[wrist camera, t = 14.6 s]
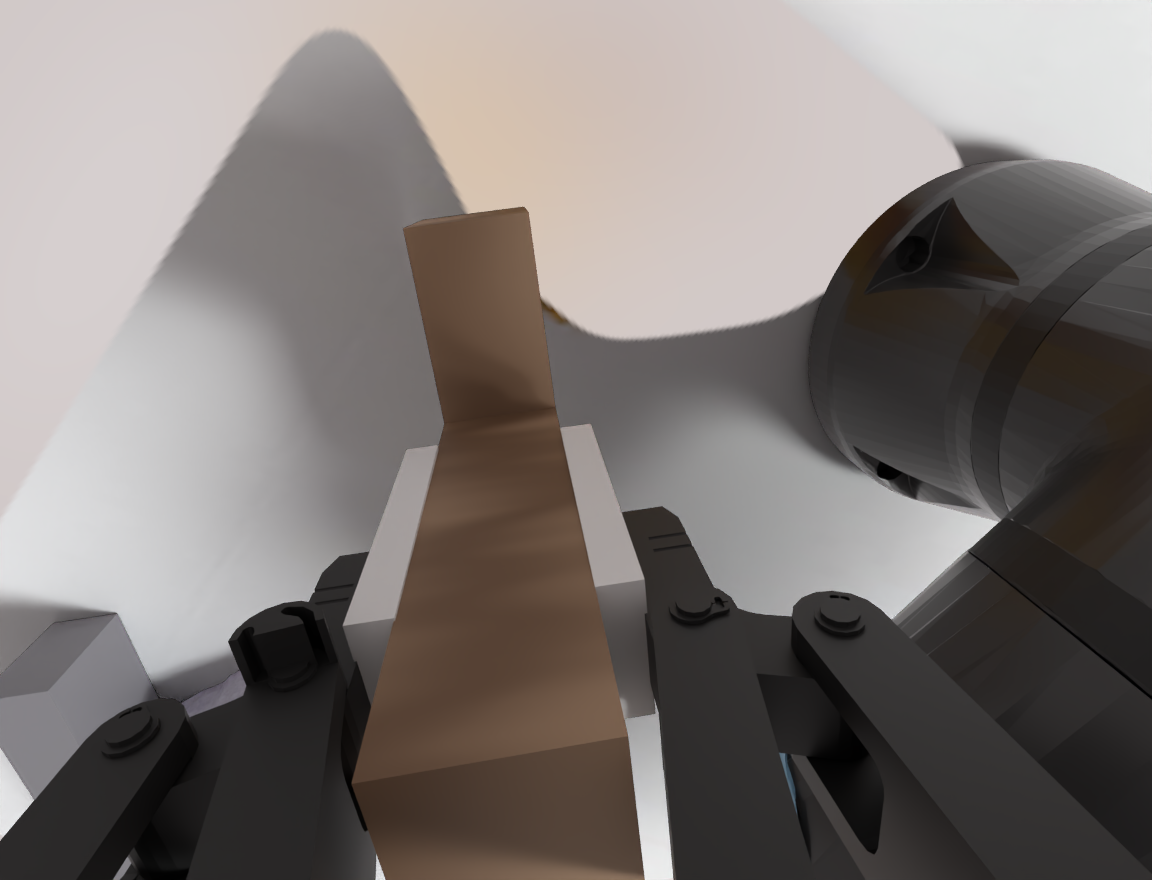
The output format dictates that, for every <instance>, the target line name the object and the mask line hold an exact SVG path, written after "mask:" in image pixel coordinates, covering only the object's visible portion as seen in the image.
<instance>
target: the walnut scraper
mask: <svg viewBox="0 0 1152 880" xmlns="http://www.w3.org/2000/svg"><path fill="white" fill-rule="evenodd" d="M403 231H404V235H405V240H406V245H407V250H408V254H409V259H410V264H411V268H412V273H413V278H414V282H415V287H416V292H417V297H418V301H419V306H420V311H421V315H422V320H423V325H424V330H425V334H426V339H427V344H428V348H429V353H430V358H431V362H432V367H433V372H434V377H435V381H436V386H437V391H438V395H439V400H440V405H441V410H442V414H443V419H444V427H443V431H442V435H441V439H440V443H439V447H438V448H439V450H438V454H437V458H436V462H435V466H434V470H433V474H432V478H431V482H430V485H429V489H428V493H427V497H426V501H425V505H424V509H423V513H422V517H421V521H420V525H419V529H418V533H417V537H416V541H415V545H414V548H413V552H412V556H411V560H410V564H409V568H408V572H407V576H406V580H405V584H404V588H403V592H402V596H401V600H400V604H399V608H398V612H397V615H396V619H395V621H393V625H392V629H391V633H390V636H389V640H388V644H387V648H386V652H385V656H384V660H383V664H382V667H381V671H380V675H379V679H378V683H377V687H376V691H375V695H374V698H373V702H372V706H371V710H370V714H369V718H368V722H367V726H366V729H365V733H364V737H363V741H362V745H361V749H360V753H359V757H358V760H357V764H356V768H355V772H354V776H353V780H352V787H353V790H354V792H355V795H356V798H357V801H358V804H359V806H360V809H361V812H362V815H363V818H364V820H365V823H366V826H367V829H368V831H369V834H370V837H371V840H372V843H373V845H374V848H375V851H376V854H377V857H378V859H379V862H380V865H381V868H382V870H383V873H384V876H385V879H386V880H645V879H644V870H643V861H642V853H641V844H640V835H639V827H638V818H637V809H636V801H635V792H634V783H633V775H632V766H631V757H630V749H629V740H628V734H627V729H626V725H625V720H624V716H623V711H622V707H621V702H620V697H619V693H618V688H617V684H616V679H615V675H614V670H613V666H612V661H611V657H610V652H609V648H608V643H607V639H606V634H605V630H604V625H603V621H602V616H601V611H600V607H599V602H598V598H597V593H596V589H595V585H594V581H593V576H592V572H591V567H590V563H589V558H588V553H587V549H586V544H585V540H584V535H583V531H582V526H581V522H580V517H579V512H578V508H577V503H576V499H575V494H574V490H573V485H572V481H571V476H570V471H569V467H568V462H567V458H566V453H565V449H564V444H563V439H562V435H561V430H560V426H559V421H558V417H557V412H556V408H555V401H554V394H553V386H552V379H551V372H550V365H549V357H548V350H547V343H546V336H545V328H544V321H543V314H542V307H541V299H540V293H539V285H538V278H537V270H536V263H535V256H534V249H533V242H532V234H531V227H530V220H529V212H528V211H527V210H526V208H525V207H518V208H510V209H502V210H495V211H488V212H479V213H471V214H464V215H456V216H448V217H441V218H433V219H425V220H422V221H419V222H417V223H414V224H412V225H410V226H407V227H405V228H403Z"/></svg>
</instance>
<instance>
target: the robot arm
mask: <svg viewBox="0 0 1152 880" xmlns="http://www.w3.org/2000/svg"><path fill="white" fill-rule="evenodd" d="M809 382H810V389H811V395H812V399H813V403H814V407H815V410H816V413H817V416H818V418H819V420H820V422H821V425H822V427H823V428H824V430H825V432H826V434H827V435H828V437H829V438H830V440H831V441H832V442H833V444H834V445H835V446H836V447H837V449H838V450H839V451H840V452H841V453H842V454H843V455H844V456H845V457H846V458H848V459H849V460H850V461H851V462H852V463H854V464H855V465H856V466H857V467H859V468H860V469H861V470H862V471H864V472H865V473H866V474H867V475H868V476H870V477H871V478H872V479H874V480H875V481H877V482H878V483H879V484H881V485H883V486H885V487H886V488H888V489H890V490H892V491H894V492H896V493H898V494H901V495H903V496H906V497H909V498H911V499H914V500H918V501H922V502H926V503H930V504H933V505H937V506H941V507H945V508H949V509H953V510H956V511H960V512H964V513H968V514H972V515H976V516H979V517H983V518H987V519H991V520H995V521H999V523H998V524H997V525H996V526H995V527H993V528H992V529H991V530H990V531H989V532H988V533H987V534H986V535H985V536H984V537H983V538H982V539H980V540H979V541H978V542H977V543H976V544H975V545H974V546H973V547H972V548H971V549H969V550H967V551H966V552H965V553H963V554H962V555H961V556H960V557H959V558H958V559H957V560H956V561H955V562H954V563H953V564H952V565H951V566H949V567H948V568H947V569H946V570H945V571H944V572H943V573H942V574H941V575H940V576H939V577H938V578H936V579H935V580H934V581H933V582H932V583H931V584H930V585H929V586H928V587H927V588H926V589H925V590H924V591H922V592H921V593H920V594H919V595H918V596H917V597H916V598H915V599H914V600H913V601H912V602H911V603H909V604H908V605H907V606H906V607H905V608H904V609H903V610H902V611H901V612H900V613H899V614H898V615H897V616H895V617H894V618H893V619H892V620H891V619H890V618H889V617H888V616H887V615H886V614H885V613H884V612H883V611H882V610H881V609H879V608H878V607H876V606H875V605H874V604H872V603H871V602H869V601H868V600H866V599H863V598H861V597H858V596H855V595H853V594H850V593H843V592H836V591H826V592H815V593H812V594H810V595H807V596H805V597H802V598H801V599H800V600H799V601H798V602H797V603H796V604H795V605H794V607H793V613H792V617H789V616H775V615H763V614H756V613H751V612H747V611H744V610H741V609H738V608H737V606H736V605H735V603H734V601H733V600H732V598H731V597H730V596H728V595H727V594H725V593H724V592H723V591H721V590H720V589H717V588H714V587H713V585H712V583H711V581H710V579H709V577H708V575H707V573H706V571H705V569H704V567H703V565H702V563H701V561H700V559H699V557H698V555H697V553H696V551H695V549H694V547H693V546H692V543H691V541H690V539H689V537H688V536H687V535H686V532H685V530H684V528H683V526H682V524H681V522H680V520H679V518H678V517H677V516H675V515H674V514H673V513H671V512H670V511H668V510H667V509H665V508H664V507H655V508H648V509H642V510H635V511H628V512H621V510H620V507H619V504H618V501H617V498H616V495H615V492H614V489H613V486H612V484H611V481H610V478H609V475H608V472H607V469H606V466H605V463H604V460H603V458H602V455H601V452H600V449H599V446H598V443H597V440H596V437H595V434H594V432H593V429H592V426H591V423H590V424H583V425H576V426H569V427H562V428H560V430H561V435H562V439H563V444H564V449H565V453H566V458H567V462H568V467H569V471H570V476H571V481H572V485H573V490H574V494H575V499H576V503H577V508H578V512H579V517H580V522H581V526H582V531H583V535H584V540H585V544H586V549H587V553H588V558H589V563H590V567H591V572H592V576H593V581H594V585H595V589H596V593H597V598H598V602H599V607H600V611H601V616H602V621H603V625H604V630H605V634H606V639H607V643H608V648H609V652H610V657H611V661H612V666H613V670H614V675H615V679H616V684H617V688H618V693H619V697H620V702H621V707H622V711H623V716H624V719H627V718H633V717H639V716H645V715H651V714H655V702H654V698H655V701H656V705H657V708H658V712H659V721H660V734H661V746H662V759H663V770H664V778H665V790H666V801H667V812H668V823H669V834H670V845H671V856H672V868H673V879H674V880H1152V194H1151V193H1149V192H1147V191H1145V190H1142V189H1140V188H1138V187H1136V186H1134V185H1132V184H1129V183H1127V182H1125V181H1123V180H1121V179H1119V178H1116V177H1114V176H1112V175H1110V174H1108V173H1106V172H1103V171H1101V170H1099V169H1096V168H1093V167H1089V166H1086V165H1082V164H1077V163H1072V162H1066V161H1059V160H1011V161H994V162H986V163H981V164H976V165H972V166H968V167H964V168H961V169H958V170H955V171H952V172H950V173H947V174H945V175H942V176H940V177H937V178H935V179H933V180H931V181H930V182H927V183H926V184H924V185H922V186H921V187H919V188H917V189H915V190H914V191H912V192H911V193H909V194H908V195H906V196H905V197H903V198H902V199H901V200H899V201H898V202H896V203H895V204H894V205H893V206H891V207H890V208H889V209H888V210H887V211H885V212H884V213H883V214H882V215H881V216H880V217H879V218H878V219H877V220H876V221H875V222H874V223H873V224H872V225H871V226H870V227H869V228H868V229H867V230H866V231H865V232H864V233H863V234H862V236H861V237H860V238H859V239H858V240H857V242H856V243H855V244H854V245H853V247H852V248H851V249H850V250H849V252H848V253H847V255H846V256H845V258H844V259H843V261H842V262H841V264H840V266H839V267H838V269H837V270H836V273H835V274H834V276H833V278H832V280H831V281H830V283H829V285H828V287H827V290H826V292H825V294H824V296H823V299H822V301H821V304H820V307H819V310H818V313H817V316H816V319H815V323H814V327H813V332H812V336H811V343H810V350H809ZM438 450H439V448H438V445H434V446H427V447H419V448H412V449H406V452H405V455H404V458H403V461H402V463H401V466H400V469H399V472H398V474H397V477H396V480H395V483H394V485H393V488H392V491H391V494H390V496H389V499H388V502H387V505H386V507H385V510H384V513H383V516H382V519H381V521H380V524H379V527H378V530H377V532H376V535H375V538H374V541H373V543H372V546H371V549H370V552H364V553H358V554H351V555H344V556H339V557H338V558H337V559H336V560H335V561H334V562H333V563H332V564H331V565H330V566H329V567H328V568H327V569H326V570H325V571H324V572H323V573H322V575H321V577H320V579H319V581H318V583H317V586H316V588H315V593H313V594H312V596H311V599H310V601H309V602H305V601H296V602H288V603H283V604H280V605H277V606H274V607H271V608H268V609H265V610H264V611H262V612H260V613H258V614H256V615H255V616H253V617H251V618H249V619H248V620H247V621H246V622H244V623H243V624H242V625H241V626H240V627H238V628H237V629H236V630H235V632H234V633H233V635H232V636H231V638H230V639H229V641H228V643H229V645H230V648H231V650H232V652H233V655H234V657H235V660H236V662H237V665H238V667H239V669H240V672H241V674H242V677H243V679H244V682H245V684H246V688H245V691H244V694H243V696H241V697H239V698H237V699H235V700H232V701H230V702H228V703H225V704H223V705H220V706H217V707H215V708H212V709H210V710H207V711H204V712H202V713H199V714H196V715H194V716H191V717H189V715H188V713H187V711H186V709H185V706H184V705H183V704H181V703H180V702H178V701H177V700H176V699H164V698H159V699H155V700H151V701H146V702H142V703H139V704H137V705H135V706H132V707H130V708H128V709H126V710H124V711H121V712H120V713H118V714H117V715H115V716H114V717H112V718H111V719H109V720H108V721H106V722H105V723H103V724H101V725H100V726H99V727H98V728H97V729H96V730H95V731H94V732H93V733H92V734H91V735H90V736H89V737H88V738H87V739H86V740H85V741H84V742H83V743H82V744H81V746H80V747H79V748H78V749H77V750H76V752H75V753H74V754H73V755H72V756H71V758H70V759H69V760H68V761H67V762H66V763H65V765H64V766H63V767H62V768H61V769H60V771H59V772H58V773H57V774H56V775H55V777H54V778H53V779H52V780H51V781H50V782H49V784H48V785H47V786H46V787H45V788H44V790H43V791H42V792H41V793H40V794H39V796H38V797H37V798H36V799H35V800H34V801H33V803H32V804H31V805H30V806H29V807H28V809H27V810H26V811H25V812H24V813H23V815H22V816H21V817H20V818H19V819H18V820H17V822H16V823H15V824H14V825H13V826H12V828H11V829H10V830H9V831H8V832H7V834H6V835H5V836H4V837H3V838H2V839H1V841H0V880H113V879H114V877H115V876H116V874H117V872H118V871H119V869H120V868H121V866H122V865H123V863H124V861H125V860H126V858H127V857H128V858H129V860H130V862H131V864H130V866H129V868H128V869H127V871H126V872H125V874H124V875H123V877H122V878H121V879H120V880H375V877H376V851H375V848H374V845H373V843H372V840H371V837H370V834H369V831H368V829H367V826H366V823H365V820H364V818H363V815H362V812H361V809H360V806H359V804H358V801H357V798H356V795H355V792H354V790H353V787H352V780H353V776H354V772H355V768H356V764H357V760H358V757H359V753H360V749H361V745H362V741H363V737H364V733H365V729H366V726H367V722H368V718H369V714H370V710H371V706H372V702H373V698H374V695H375V691H376V687H377V683H378V679H379V675H380V671H381V667H382V664H383V660H384V656H385V652H386V648H387V644H388V640H389V636H390V633H391V629H392V625H393V621H395V619H396V615H397V612H398V608H399V604H400V600H401V596H402V592H403V588H404V584H405V580H406V576H407V572H408V568H409V564H410V560H411V556H412V552H413V548H414V545H415V541H416V537H417V533H418V529H419V525H420V521H421V517H422V513H423V509H424V505H425V501H426V497H427V493H428V489H429V485H430V482H431V478H432V474H433V470H434V466H435V462H436V458H437V454H438Z"/></svg>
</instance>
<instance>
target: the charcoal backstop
mask: <svg viewBox="0 0 1152 880" xmlns="http://www.w3.org/2000/svg"><path fill="white" fill-rule="evenodd" d="M155 699H159V698H158V696H157V694H156V692H155V690H154V688H153V686H152V683H151V681H150V679H149V677H148V675H147V673H146V671H145V669H144V667H143V665H142V663H141V661H140V659H139V657H138V655H137V653H136V651H135V649H134V647H133V645H132V642H131V640H130V638H129V636H128V634H127V632H126V630H125V628H124V626H123V624H122V622H121V620H120V618H119V616H118V614H111V615H105V616H98V617H91V618H85V619H78V620H71V621H65V622H58V623H53V624H52V625H51V626H50V627H49V628H48V629H47V630H46V631H45V632H44V633H43V634H42V635H41V636H40V637H39V638H38V639H37V640H36V641H35V642H34V643H33V644H31V645H30V646H29V647H28V648H27V649H26V650H25V651H24V652H23V653H22V654H21V655H20V656H19V657H18V658H17V659H16V660H15V661H14V662H13V663H12V664H11V665H10V666H9V667H8V668H7V669H6V670H5V671H4V672H3V673H2V674H1V675H0V747H1V749H2V751H3V752H4V754H5V755H6V757H7V758H8V760H9V761H10V763H11V765H12V766H13V768H14V769H15V771H16V772H17V774H18V775H19V777H20V778H21V780H22V782H23V783H24V785H25V786H26V788H27V789H28V791H29V792H30V794H31V796H32V797H33V799H34V800H35V799H36V798H37V797H38V796H39V794H40V793H41V792H42V791H43V790H44V788H45V787H46V786H47V785H48V784H49V782H50V781H51V780H52V779H53V778H54V777H55V775H56V774H57V773H58V772H59V771H60V769H61V768H62V767H63V766H64V765H65V763H66V762H67V761H68V760H69V759H70V758H71V756H72V755H73V754H74V753H75V752H76V750H77V749H78V748H79V747H80V746H81V744H82V743H83V742H84V741H85V740H86V739H87V738H88V737H89V736H90V735H91V734H92V733H93V732H94V731H95V730H96V729H97V728H98V727H99V726H100V725H101V724H103V723H105V722H106V721H108V720H109V719H111V718H112V717H114V716H115V715H117V714H118V713H120V712H121V711H124V710H126V709H128V708H130V707H132V706H135V705H137V704H139V703H142V702H146V701H151V700H155ZM130 864H131V862H130V860H129V858H128V857H127V858H126V860H125V861H124V863H123V865H122V866H121V868H120V869H119V871H118V872H117V874H116V876H115V877H114V879H113V880H120V879H121V878H122V877H123V875H124V874H125V872H126V871H127V869H128V868H129V866H130Z"/></svg>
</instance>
